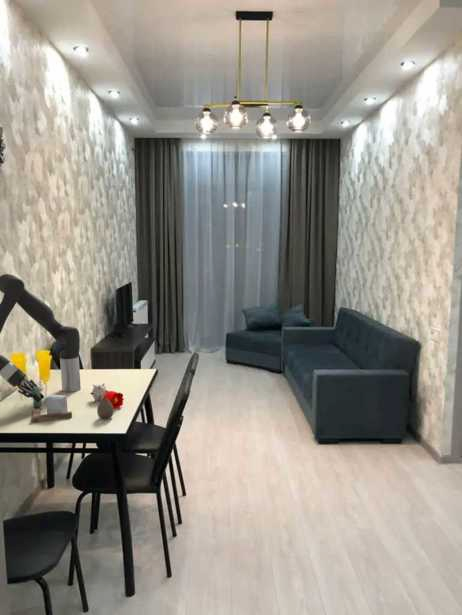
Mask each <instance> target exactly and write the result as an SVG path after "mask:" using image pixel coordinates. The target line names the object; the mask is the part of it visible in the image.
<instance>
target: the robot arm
mask: <svg viewBox="0 0 462 615" xmlns="http://www.w3.org/2000/svg"><path fill="white" fill-rule="evenodd" d="M0 292H1V293H2V294H3V296H2V299H1V302H0V334H1V333H2V331H3V328H4V326H5V323H6V321H7V320H8V317H9V316H10V314H11V312H12V311H13V309H14V307H15V305H16V304H17V305H18V306H19V307H20V308H21V309H22V310H23V311H24V312H25V313H26V314H27V315H29V317H30V318H31V319H33V320H34V321H35V322H36V323H38V325H40V326H41V327H42V328H44V329H45V330H46V331H47V332H48V333H49V334H50V336H52V338H53V339H55V341H56V342H57V343H59V344H62V345H64V346H65V347H64V348H65V349H64V350H62V351H61V352H60V353H59V361H60V362H59V363H60V375H61V376H60V379H61V390H62V392H64V393H71V392H72V393H73V392H78V391H79V390H81V388H82V387H81V374H80V372H81V371H80V359H79V357H80V356H79V354H80V350H81V348H80V346H81V344H80V332H79V329H78V328H77V327H74V326H66V325H63V324H61V323H60V322H59V321H58V320H57V319H56V318H55V314H54V311H53V310H52V308H51V307H50V306H49V305H48V304H47V303H45V302H44V301H43V300H42V299H41V298H39V297H38V296H36V295H34V294H33V293H31V292H30V291H28V290H27V289H26V288H25V282H24V281H23V280H22V279H21V278H19V277H17V276H16V275H13V274H10V273H4V274H2V275H0ZM26 376H27V374H26V373H25V372H24V371H23V370H21V369H20V368H19V367H18V366H16V365H15V364H14V363H13V362H11V361H10V360H9V359H8V358H7V357H5V356H4V355H2V354H0V377H1V378H2V379H4V381H6V382H7V383H8V384H9V385H10V386H12V387H13V388H15V387H17V388H18V390H17V392H18V393H19V394H21V395H23V396H25V397H26V398H32V400H33V399H34V400H36V401H37V402H39V401H40V400H41V401H42V400H43V399H44V398H45V395H44V394H43V393H41V392H40V397H39V396H38V395H37V394H35V392H34V391H33V390H32V388H34V387H39V386H38V385H37V383H35V381H34V380H33V379H30V380H28V379H27V378H26Z"/></svg>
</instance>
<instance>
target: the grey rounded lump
mask: <svg viewBox="0 0 462 615" xmlns="http://www.w3.org/2000/svg"><path fill="white" fill-rule="evenodd" d="M114 410H115V409H114V408H113V405H112V404H111V402H110V401H109V400H108V398H103V399H102V400H100V402H99V404H98V405H97V408H96V413H97V416H98V418H99V419H100V420H103V421H104V420H105V421H107V420H110V419H111V418H112V417H113V415H114Z"/></svg>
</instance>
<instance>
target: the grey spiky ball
mask: <svg viewBox="0 0 462 615" xmlns="http://www.w3.org/2000/svg"><path fill="white" fill-rule="evenodd" d="M92 386H93V388H92V392H90V395H92V398H93V399H94V400H93V402H94V403H95V402H96V401H101V400H102V399H103V396H104V395H105V394H106V393H107V392H108V391H109V390H107V388H106V386H105V383H103V384H100V385H99V384H98V385H97V384H96V385H95V384H92Z"/></svg>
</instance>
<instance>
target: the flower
mask: <svg viewBox="0 0 462 615" xmlns="http://www.w3.org/2000/svg"><path fill="white" fill-rule="evenodd" d="M107 391H108V392H107V393H106V394H105V395H104V396H103V398H108V400H109V401H110V402H111V404H112V405H113V409H114V410H116V409H118V408H119V409H120V407H122V406H123V404H124V400H125V398H123V397H124V394H123V393H122V392H117V391H114V390H107Z"/></svg>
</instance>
